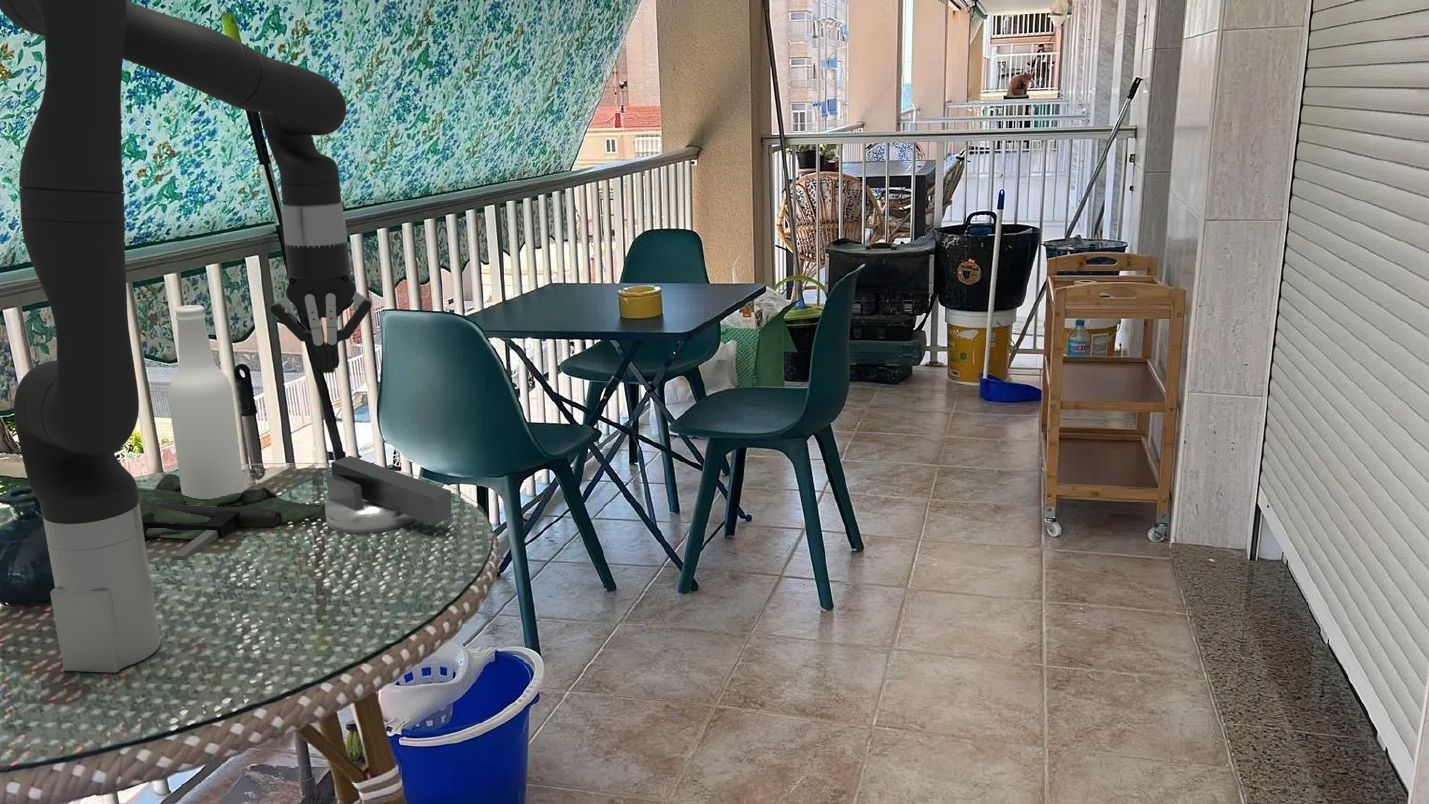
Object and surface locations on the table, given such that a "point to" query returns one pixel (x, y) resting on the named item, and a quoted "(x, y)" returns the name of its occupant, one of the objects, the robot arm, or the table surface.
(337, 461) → the bar
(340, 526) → the slotted disc stand
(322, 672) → the table surface
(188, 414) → the alcohol
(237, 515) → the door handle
